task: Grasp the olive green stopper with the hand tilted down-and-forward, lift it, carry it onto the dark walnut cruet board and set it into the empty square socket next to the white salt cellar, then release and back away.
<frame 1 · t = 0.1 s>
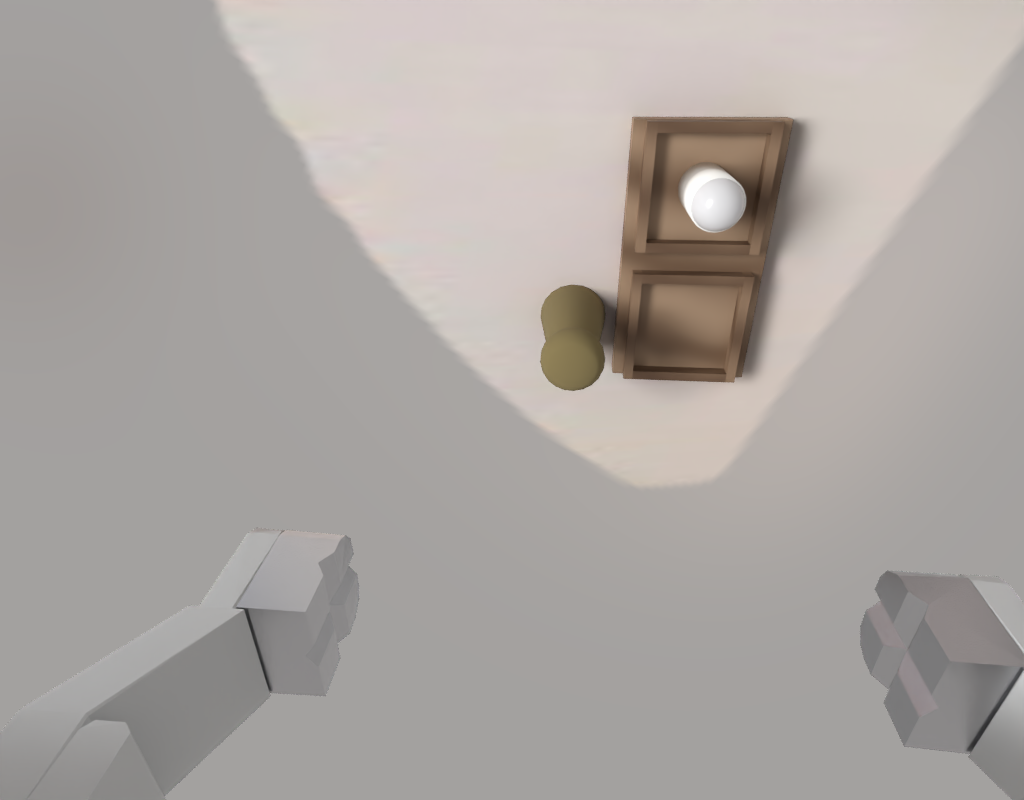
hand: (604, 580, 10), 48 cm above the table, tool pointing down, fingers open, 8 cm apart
salt cellar: (703, 188, 51), point 1 cm above the table, touching cruet board
cruet board: (690, 255, 55), on the table
olive green stopper: (572, 314, 59), on the table
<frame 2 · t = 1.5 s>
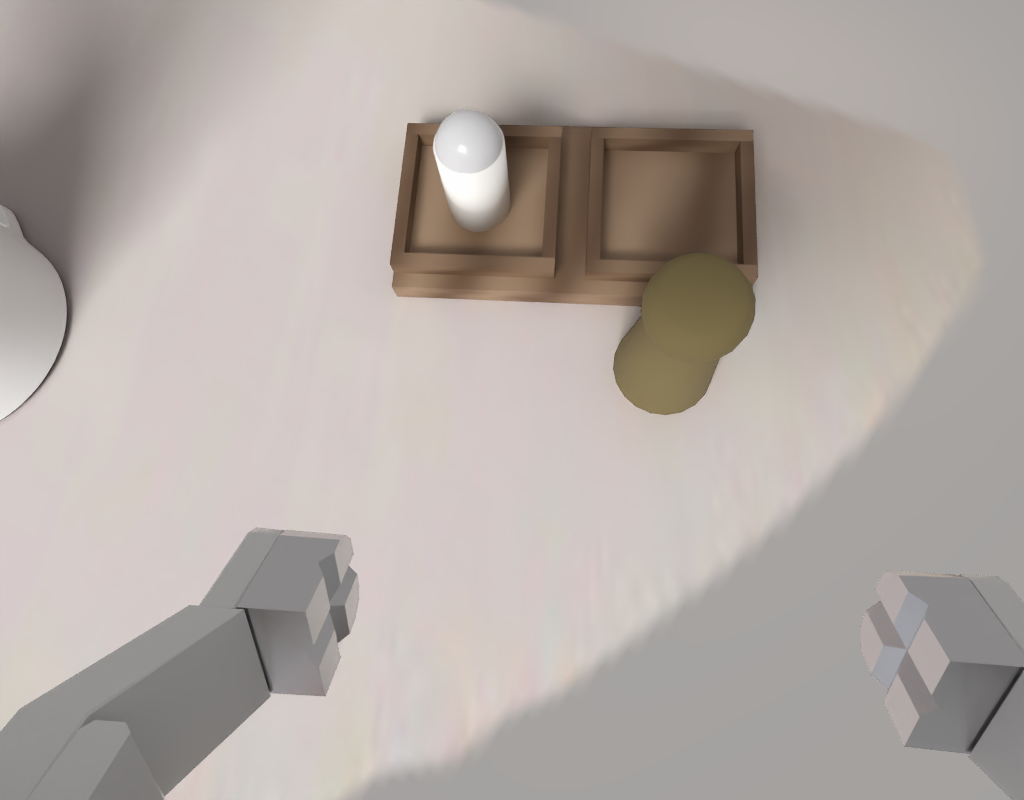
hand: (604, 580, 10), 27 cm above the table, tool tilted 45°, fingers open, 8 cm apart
salt cellar: (480, 204, 41), point 1 cm above the table, touching cruet board
cruet board: (572, 219, 42), on the table
olive green stopper: (661, 368, 39), on the table
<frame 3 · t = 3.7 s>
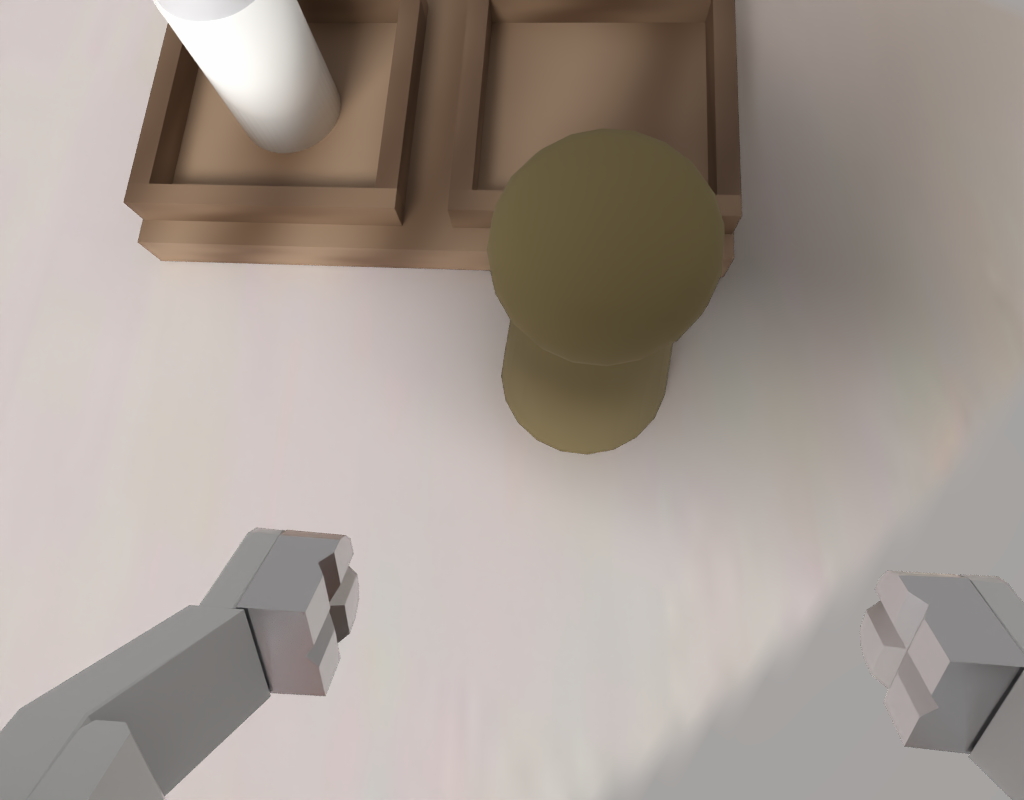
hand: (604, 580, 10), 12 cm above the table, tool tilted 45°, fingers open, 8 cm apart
salt cellar: (291, 109, 25), point 1 cm above the table, touching cruet board
cruet board: (446, 136, 26), on the table
olive green stopper: (583, 374, 23), on the table
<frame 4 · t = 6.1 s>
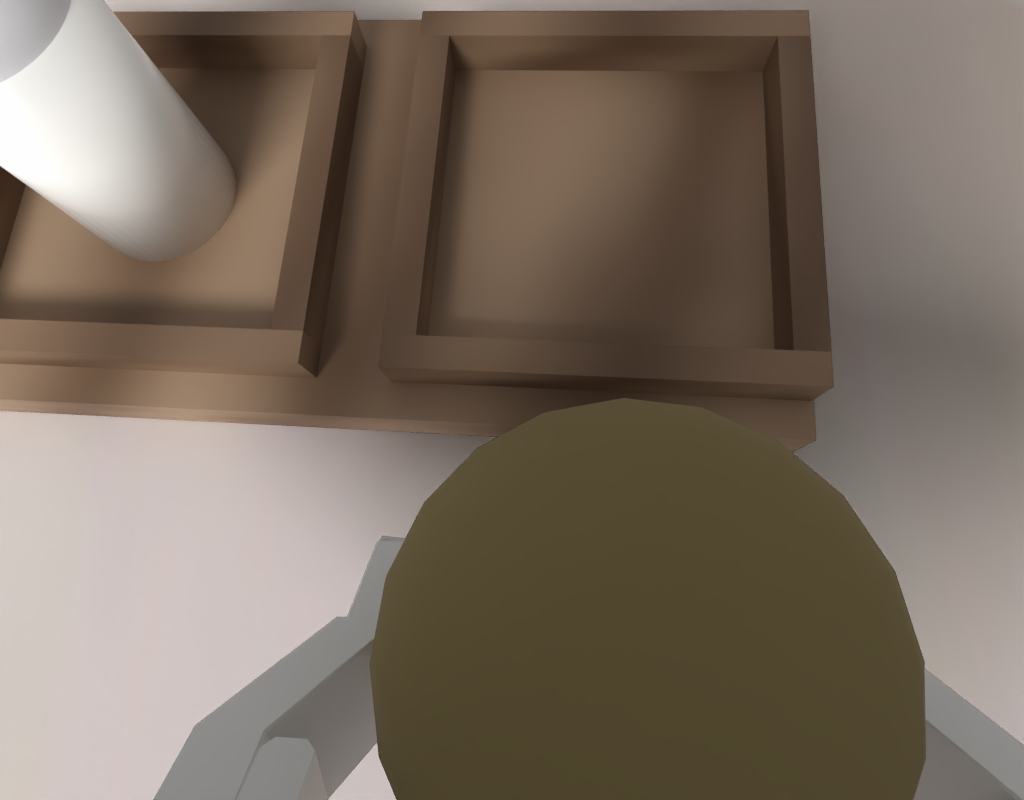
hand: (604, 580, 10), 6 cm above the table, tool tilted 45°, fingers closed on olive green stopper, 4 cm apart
salt cellar: (166, 195, 17), point 1 cm above the table, touching cruet board
cruet board: (391, 229, 18), on the table
olive green stopper: (584, 601, 16), on the table, touching gripper
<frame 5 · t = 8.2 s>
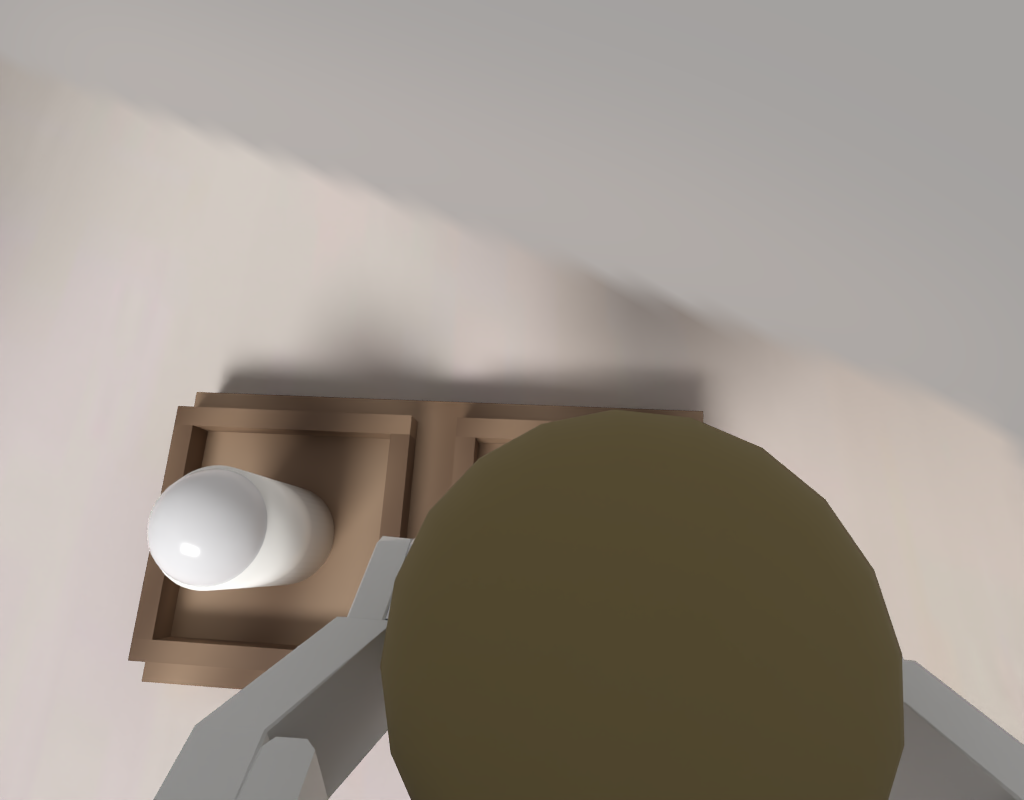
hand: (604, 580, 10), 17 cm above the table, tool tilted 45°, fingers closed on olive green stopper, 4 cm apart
salt cellar: (287, 535, 26), point 1 cm above the table, touching cruet board
cruet board: (435, 544, 27), on the table
olive green stopper: (584, 602, 16), point 11 cm above the table, touching gripper
when the fingers open (9 cm above the table, at t = 10.3 s): olive green stopper drops 1 cm, resting on cruet board.
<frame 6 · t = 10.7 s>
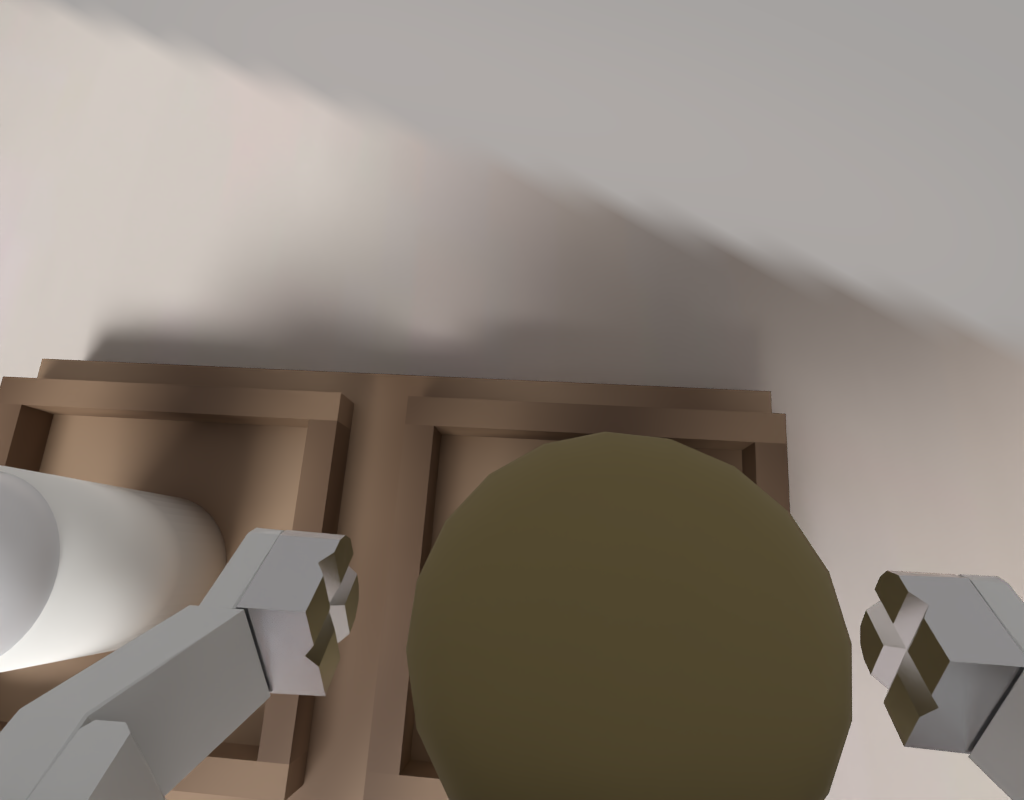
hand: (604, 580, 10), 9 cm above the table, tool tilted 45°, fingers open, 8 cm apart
salt cellar: (157, 567, 18), point 1 cm above the table, touching cruet board
cruet board: (379, 581, 19), on the table
olive green stopper: (582, 598, 17), point 1 cm above the table, touching cruet board
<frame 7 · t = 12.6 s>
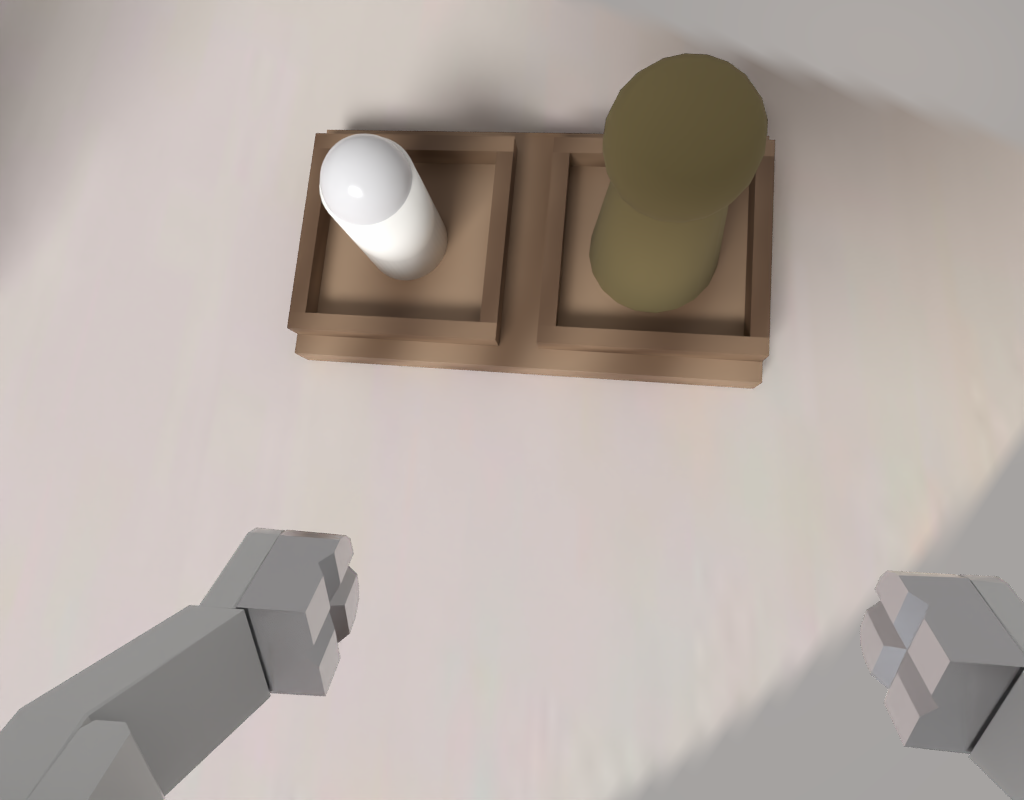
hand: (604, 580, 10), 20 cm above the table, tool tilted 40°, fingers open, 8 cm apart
salt cellar: (408, 241, 31), point 1 cm above the table, touching cruet board
cruet board: (530, 258, 32), on the table
olive green stopper: (652, 253, 30), point 1 cm above the table, touching cruet board
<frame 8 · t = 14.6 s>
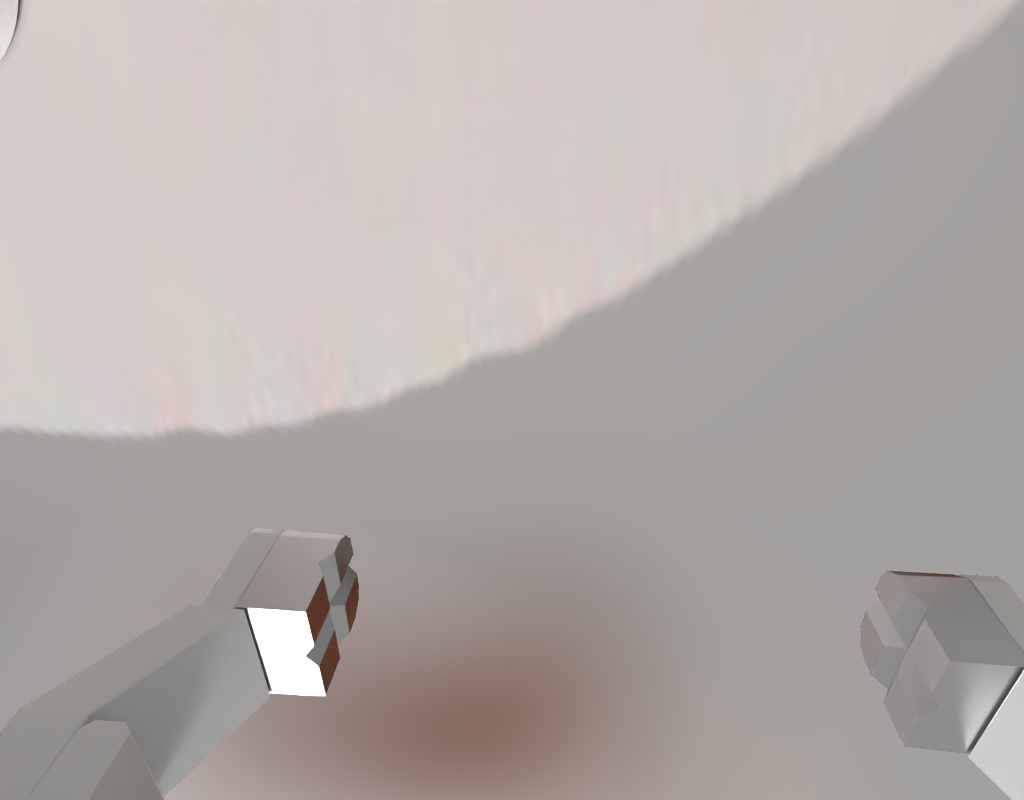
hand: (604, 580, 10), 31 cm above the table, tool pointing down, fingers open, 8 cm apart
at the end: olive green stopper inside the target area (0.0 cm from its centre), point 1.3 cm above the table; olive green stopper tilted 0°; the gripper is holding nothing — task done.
